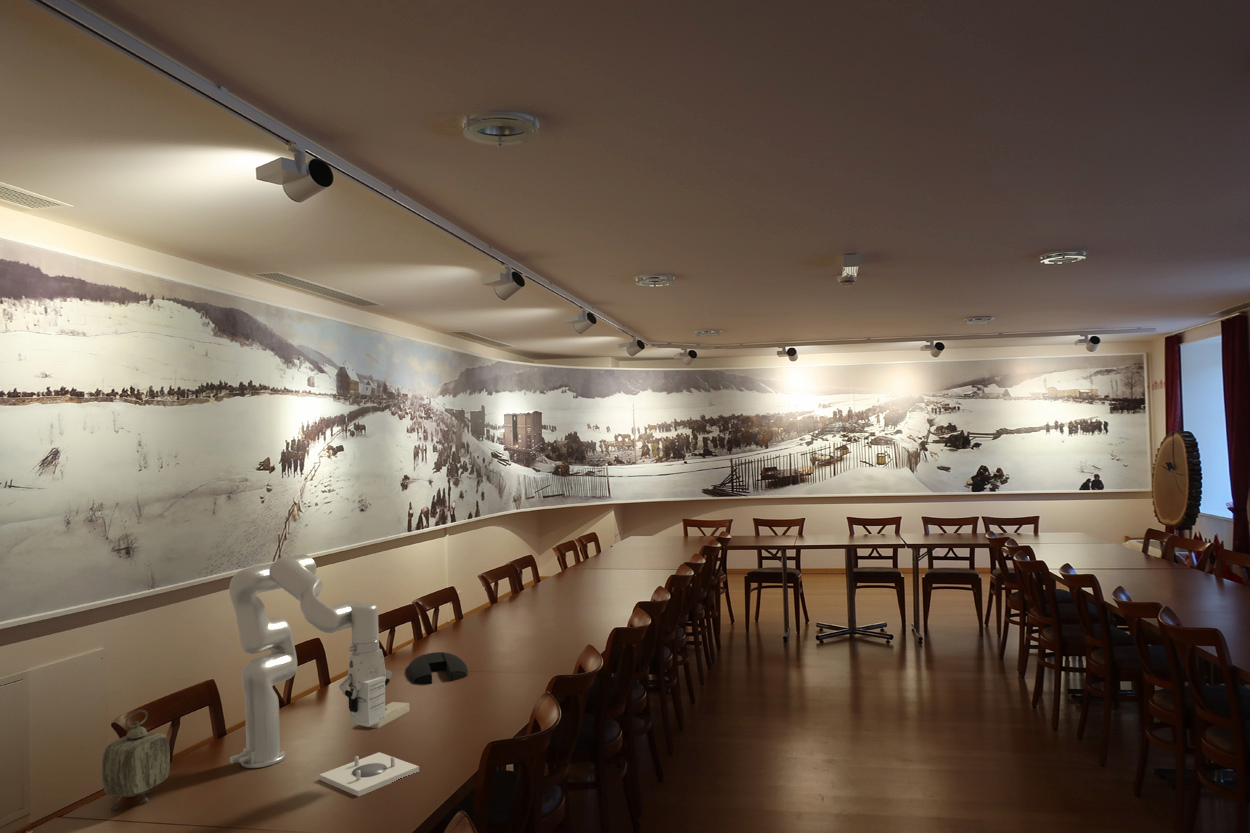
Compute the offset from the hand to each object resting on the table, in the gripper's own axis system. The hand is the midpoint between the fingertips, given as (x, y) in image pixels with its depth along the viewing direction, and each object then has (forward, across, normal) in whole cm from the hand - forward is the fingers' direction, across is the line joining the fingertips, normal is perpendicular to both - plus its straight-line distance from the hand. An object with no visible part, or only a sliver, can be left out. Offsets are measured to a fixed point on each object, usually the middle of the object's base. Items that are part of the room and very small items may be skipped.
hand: (367, 706), depth 233 cm
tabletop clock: (+20, -47, +39) cm, 64 cm away
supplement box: (+4, 0, 0) cm, 4 cm away
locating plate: (+20, 0, 0) cm, 20 cm away
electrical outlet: (+20, +33, +40) cm, 55 cm away
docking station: (+21, +82, +75) cm, 113 cm away
